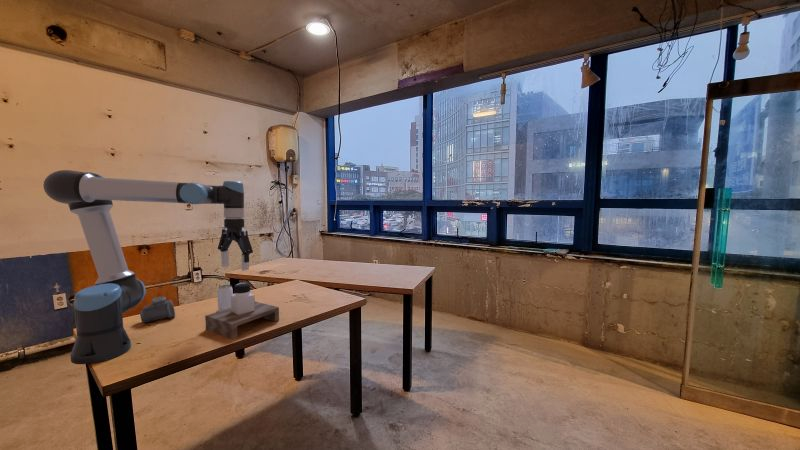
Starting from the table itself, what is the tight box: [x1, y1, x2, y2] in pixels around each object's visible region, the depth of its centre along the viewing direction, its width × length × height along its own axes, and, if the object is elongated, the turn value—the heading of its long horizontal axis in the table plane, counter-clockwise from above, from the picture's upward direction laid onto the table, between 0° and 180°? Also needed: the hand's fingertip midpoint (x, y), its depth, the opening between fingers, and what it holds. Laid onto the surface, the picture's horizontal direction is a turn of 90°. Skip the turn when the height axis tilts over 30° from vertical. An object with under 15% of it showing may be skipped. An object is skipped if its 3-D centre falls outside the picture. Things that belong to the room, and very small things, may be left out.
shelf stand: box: [204, 301, 280, 340], centre depth 133 cm, size 18×22×6 cm
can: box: [216, 284, 234, 312], centre depth 151 cm, size 6×6×12 cm
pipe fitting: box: [139, 296, 176, 324], centre depth 138 cm, size 12×8×10 cm, turn 133°
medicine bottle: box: [231, 282, 256, 315], centre depth 133 cm, size 7×7×12 cm
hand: (235, 268), depth 131 cm, fingers open, 13 cm apart
